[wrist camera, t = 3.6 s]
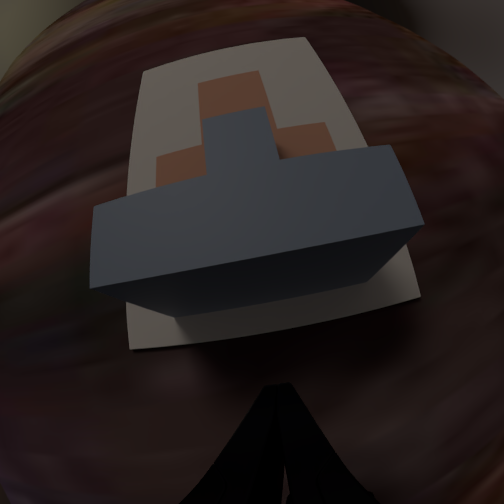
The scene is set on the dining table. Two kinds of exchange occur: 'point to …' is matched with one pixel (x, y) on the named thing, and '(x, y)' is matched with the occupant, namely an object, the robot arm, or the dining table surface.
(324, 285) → the t block
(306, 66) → the t mat
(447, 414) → the dining table surface
